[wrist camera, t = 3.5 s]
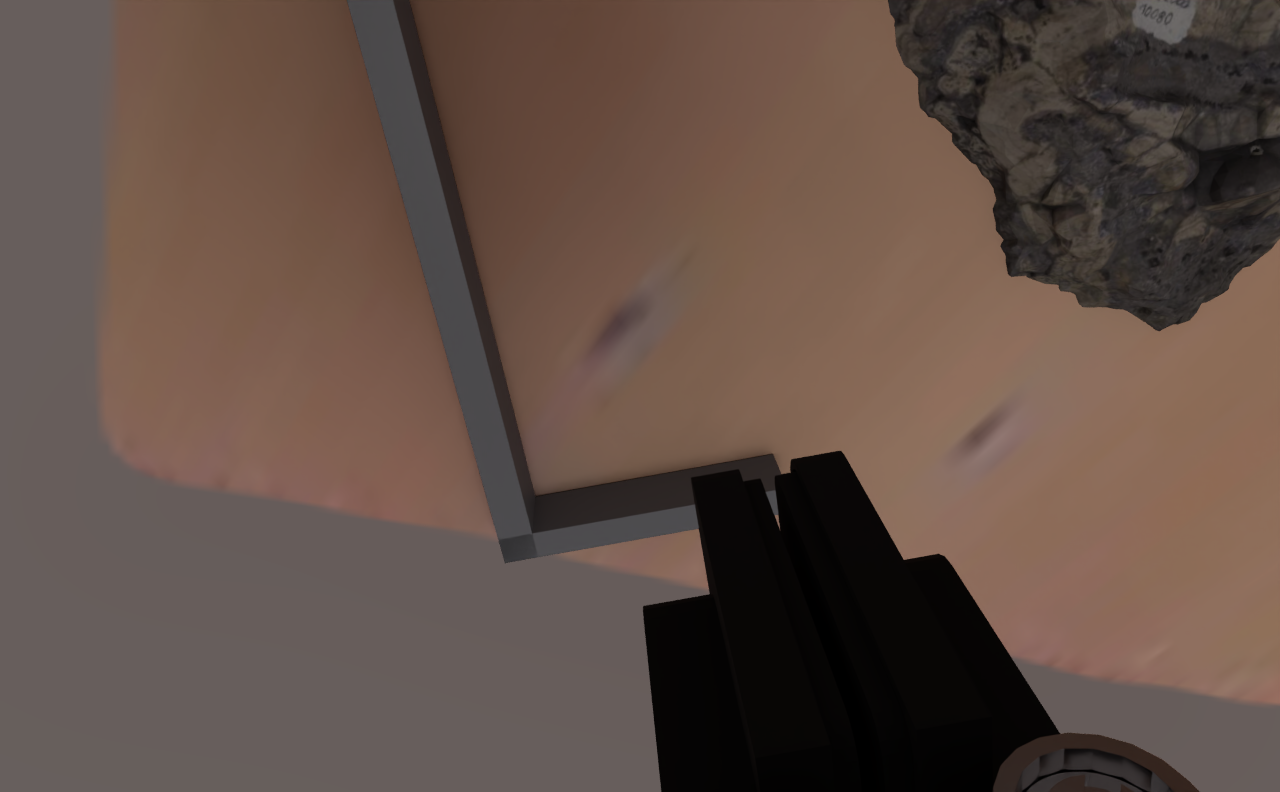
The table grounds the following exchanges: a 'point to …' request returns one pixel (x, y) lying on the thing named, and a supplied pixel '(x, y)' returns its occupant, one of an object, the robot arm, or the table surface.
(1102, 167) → the grey rough rock slab
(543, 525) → the frame
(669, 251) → the table surface
